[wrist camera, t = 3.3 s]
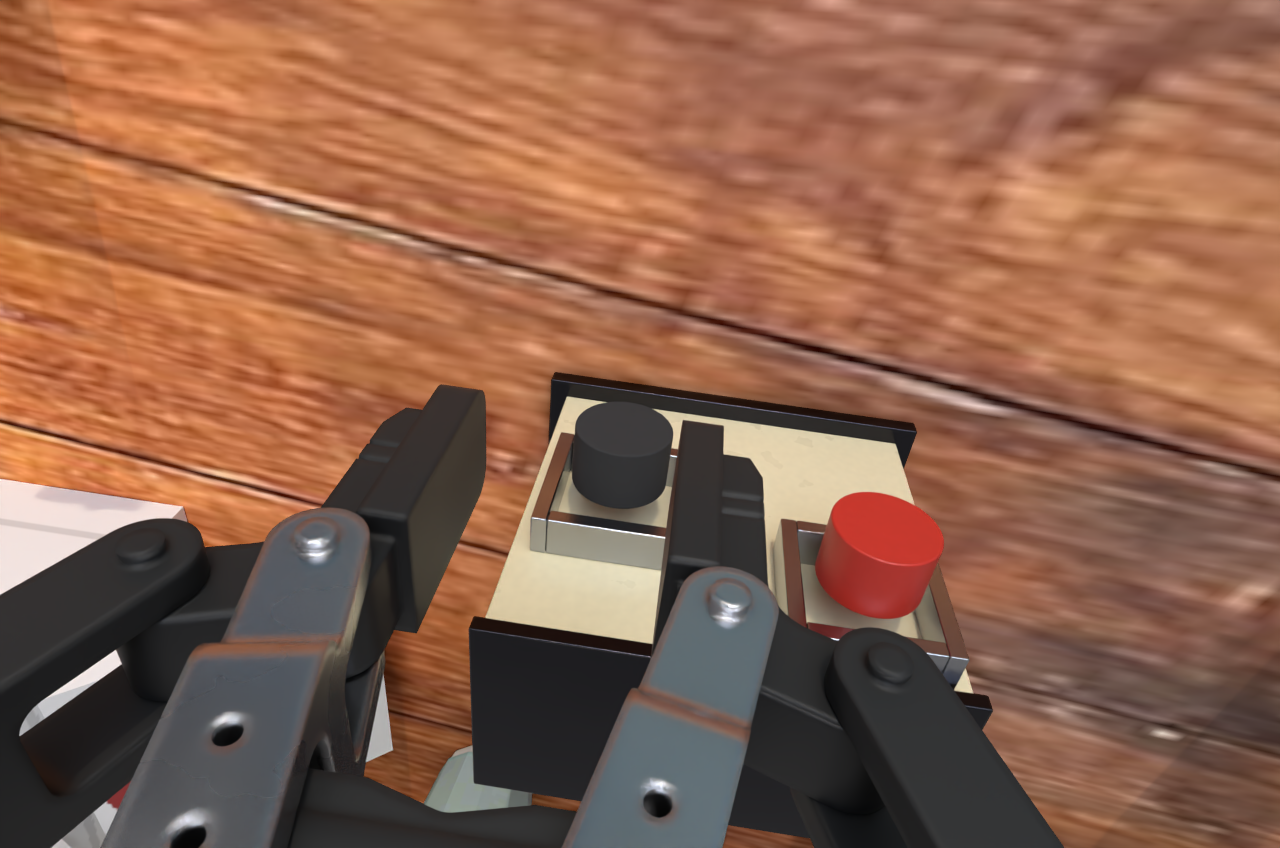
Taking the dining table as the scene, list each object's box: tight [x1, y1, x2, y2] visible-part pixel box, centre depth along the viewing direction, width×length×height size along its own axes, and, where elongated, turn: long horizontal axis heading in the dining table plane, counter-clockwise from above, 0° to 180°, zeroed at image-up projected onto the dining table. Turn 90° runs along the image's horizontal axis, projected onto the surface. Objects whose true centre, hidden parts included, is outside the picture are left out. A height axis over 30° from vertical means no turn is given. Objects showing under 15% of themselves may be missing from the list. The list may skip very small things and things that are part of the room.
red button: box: [815, 492, 944, 619], centre depth 25 cm, size 2×4×4 cm, turn 84°
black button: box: [572, 402, 673, 509], centre depth 28 cm, size 2×4×4 cm, turn 84°
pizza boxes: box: [0, 479, 393, 848], centre depth 41 cm, size 19×30×18 cm, turn 84°
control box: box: [469, 372, 993, 838], centre depth 33 cm, size 10×18×16 cm, turn 84°
